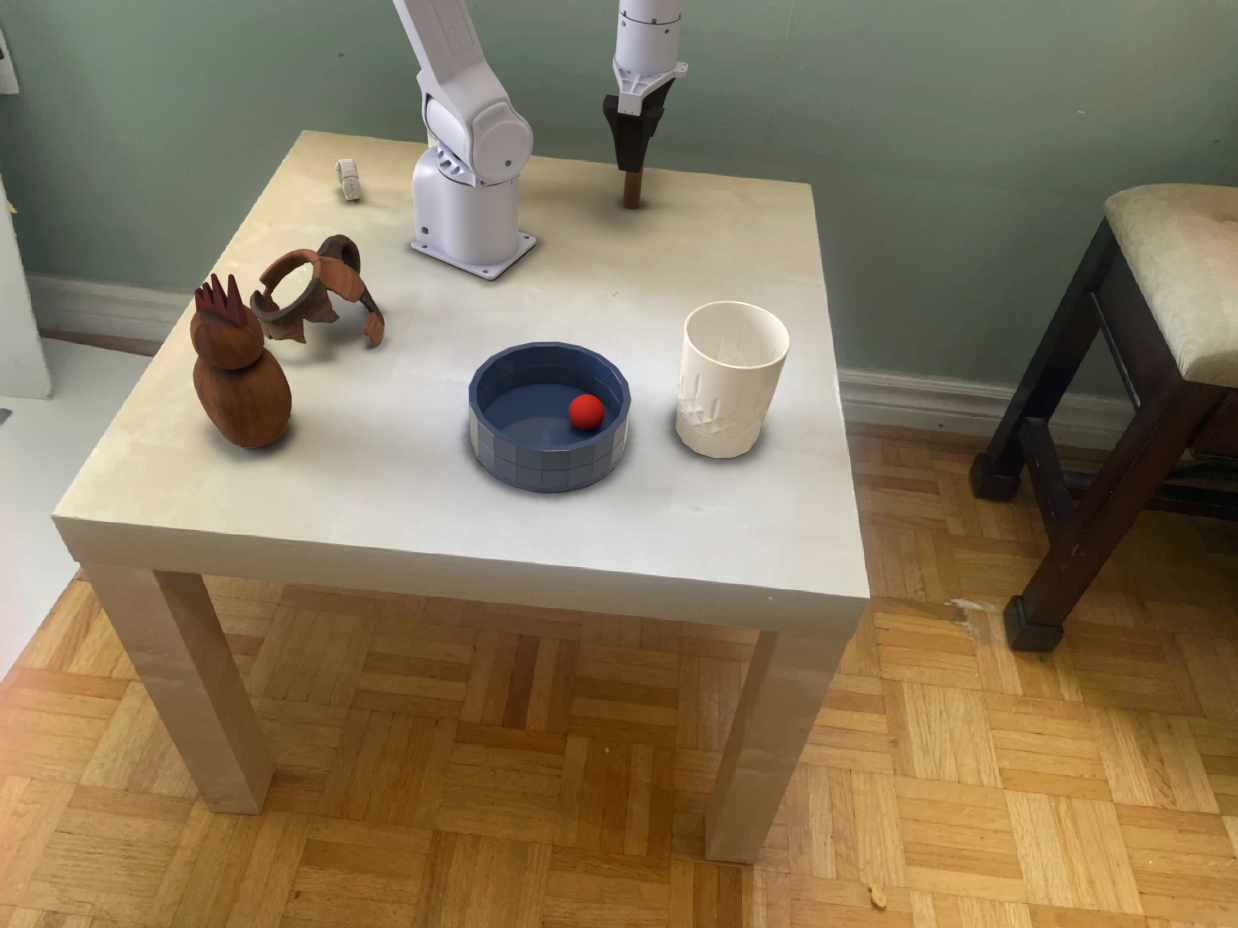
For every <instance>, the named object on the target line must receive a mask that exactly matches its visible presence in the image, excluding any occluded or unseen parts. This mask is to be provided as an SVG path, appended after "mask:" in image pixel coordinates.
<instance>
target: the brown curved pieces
mask: <svg viewBox="0 0 1238 928" xmlns="http://www.w3.org/2000/svg"><path fill="white" fill-rule="evenodd" d="M309 263H310V264H311V266H312V275H311V279H310V280H309V282H308V283H307V285H306V288H305V289H304V290H303V292H302V293H301V294H299V296H298V297H297V298H296V299H295V300H294V301H293V302H292V303H290V304H289V305H287V306H285V307H283V308H281V307H280V306H279V305H278V304H277V303H276V302H275V301H274V299H273V296H272V294H273V293H274V291H275V289H276V288H277V287H278V285H279V284H280V283H281V282H282V280H284V279H285V278H286V276H288V275H289V274H291V273H293V272H294V271H295V270H296V269H298V268H300V267H302V266H304V265H305V264H309ZM361 265H362V263H361V254H360V250H359V248H358V245H357V244H356V243H355V241H353V240H352V239H351V238H350V237H349V236H346V235H345V234H341V233H340V234H339V233H338V234H335V235H331V236H328V237H327V238H325V239H324V241H323V242H322V243H321V245H320V247H318V250H317V251H315V250H312V249H309V248H298V249H294V250H291V251H289V252H286V253H285V254H283V255H281V256H280V257H279V258H277V259H276V260H274V261H273V263H271V264H270V265H269V266H268V267H267V268H266V269H265V270H264V271H263V272H262V273H261V275H260V276H259V278H258V279H259V280H258V281H259V282H260V283H261V284H262V285H264V287H265V289H264V290H263V292H262V293H261V291H260V290H258V289H255V290H254V291H253V293H252V294H251V295H250V297H249V308H250V309H251V310H252V311H253V312H254V314H255V315H256V317H257V318H258V320H259V322H260V324H261V327H262V330H263V335H264V337H266V338H267V339H268V340H270V341H271V340H274V341H285V340H286V341H287V340H292V341H295V342H297V343H299V344H303V345H306V344H307V340H306V338H305V333H304V331H305V330H304V329H305V327H304V320H305V321H307V322H308V323H312V324H327V325H330V324H331V325H332V324H333V323H335V322H337V321H339V319H340V317H341V316H340V315H339V314H338V313H337V312H336V310H334V308H333V303H332V301H331V298H330V297H329V293H328V291H329V292H332V293H333V294H335V295H337V296H339V297H340V298H342V300H344V301H346V302H350V303H352V304H353V303H354V304H355V303H357V302H360V303H361V304H362V305H363V308H364V309H365V310H366V311H367V312H368V314H367V317H366V318H367V319H366V322H365V323H364V326H363V327H362V331H361V332H362V334H364V335H365V337H367V338H368V339H369V342H370V343H371V344H372V346H373V347H376V346H378V345H379V343H380V342H381V341H382V337H383V335H384V332H385V317H384V315H383V313H382V312H381V310H380V309H379V306H378V304H377V303H376V302H375V300H374V299H373V296H372V295H371V293H370V291H369V289H368V287H367V286H366V284H365V281H364V280H363V279H362V277H361Z"/></svg>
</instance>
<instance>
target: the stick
mask: <svg viewBox="0 0 1238 928" xmlns="http://www.w3.org/2000/svg"><path fill="white" fill-rule="evenodd" d="M644 167H645V160H644V161H643V164H642V166H641V169H640V171H639V173H632V172H626V171H624V182H623V183H624V184H623V194H622V205H623V207H625V208H628V209H637V208H638V207H639V206H640V203H641V194H642V184H643V177H644V176H643V175H644Z"/></svg>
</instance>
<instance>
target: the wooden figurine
mask: <svg viewBox="0 0 1238 928" xmlns="http://www.w3.org/2000/svg"><path fill="white" fill-rule="evenodd" d="M210 281H211V285H210V283H209V282H208V281H204V282H203V283H202V284H201V287H200V286H199V287H197V288H196V289H194V301H195V310H196V311H195V312H194V314H193V316H192V318H191V320H190V323H189V333H190V334H189V335H190V339H191V343H192V347H193V349H194V351H195V353H196V355H197V357H196V359H195V362H194V366H193V371H192V381H193V387H194V389H195V393H196V395H197V398H198V400H199V402H200V404H201V406H202V408H203V410H204V412H205V413H206V416H207V417H208V418H209V420H210V421H211V422H212V423H213V425H214V426H215V428H216V429H217V430H218V431H219V432H220V434H221V435H222V436H223V438H224V439H225V440H226V441H228V442H230V443H231V444H232V445H235V446H237V447H240V448H243V449H244V448H245V449H257V448H260V447H265V446H268V445H270V444H272V443H274V442H276V441H278V439H279V438H280V437H281V436H282V435H284V433H285V431H286V429H287V428H288V424H289V422H290V418H291V414H292V409H293V395H292V390H291V387H290V384H289V382H288V379H287V376H286V374H285V372H284V370H283V368H282V366H281V363H280V362H279V361H278V359H277V358H276V356H275V355H274V354H273V353H272V352H271V351H270V350H269V349H268V348H266V347H265V335H264V334H263V330H262V327H261V324H260V322H259V319H258V318H257V317H256V315H255V314H254V312H253V311H252V310H251V309H250V306H247V305H246V304H244V302H243V299H242V297H241V293H240V290H239V287H238V284H237V280H236V277H235V275H234V274H233V273H229V274H228V276H227V291H226V292H225V290H224V288H223V286H222V284H221V282H220V279H219V278H218V276H217V274H216V273H215V272H212V273H211V274H210Z"/></svg>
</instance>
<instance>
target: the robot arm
mask: <svg viewBox="0 0 1238 928" xmlns="http://www.w3.org/2000/svg"><path fill="white" fill-rule="evenodd" d="M684 1H685V0H619V5H618V19H617V31H616V32H617V33H616V45H615V54H614V55H613V58H612V69H613V72H614V75H615V79H616V82H617V85H618V87H619V93H618V94H619V95H614V94H606V95H605V97H604V98H603V101H602V113H603V115H604V117H605V119H606V121H607V123H608V126H609V128H610V131H611V134H612V139H613V144H614V151H615V158H616V165H617V169H618V171H622V172H632V173H639V171H640V169H641V166H642V164H643V161H644V162H645V158H646V154H647V150H648V145H649V142H650V139H651V138H653V137H654V135H655V134H656V131H657V128H658V125H659V123H660V121H661V119H662V118H663V115H664V113H665V110H666V109H665V107H664V105H665V101H666V98H667V96H668V93H669V91H670V89H671V87H672V85H673V84H674V83H675V81H676V79H685V78H686V77H687V76H688V75H687V74H688V72H689V64H688V63H687V62H682V61H680V60H679V61H678V60H677V59H678V58H677V57H678V50H679V41H680V32H681V26H682V25H681V24H682V17H683V10H684V9H683V8H684V3H685V2H684ZM392 3H393V5H394V8H395V10H396V12H397V14H398V16H399V17H398V18H399V19H400V21H401V24H402V26H403V28H404V31H405V33H406V35H407V38H408V40H409V43H410V45H411V47H412V49H413V52H414V54H415V57H416V59H417V60H418V61H417V62H418V64H419V66H420V68H421V69H420V70H419V72H418V73H417V75H416V80H417V83H418V86H419V88H420V91H421V97H422V98H421V99H422V102H421V116H422V120H423V123H424V126H425V127H426V130H427V129H428V130H429V131H430V132H431V133H432V134H433V135H434V136H435V137H437V146H433V147H431V148H429V147H428V149H426V150H425V151H424V152H423V153H422V154H421V156H420V157H419V159H418V160H417V162H416V164H415V167H414V170H413V172H412V173H413V174H412V178H411V195H412V204H413V206H412V207H413V216H414V226H415V227H414V228H415V237H416V238H415V239H413V241H411V245H410V246H411V248H412V249H414V250H416V251H419V252H421V253H423V254H425V255H427V256H430V257H433V258H435V259H438V260H440V261H442V262H445V263H447V264H450V265H452V266H455V267H457V268H459V269H461V270H464V271H467V272H469V273H471V274H474V275H476V276H479V277H481V278H484V279H486V280H489V281H492V280H495V279H496V278H497V277H498V276H499V275H501V274H502V273H503V272H504V271H506V269H508V268H509V267H510V266H511V265H513V263H515V262H516V261H518V259H519V258H521V257H522V256H523V255H524V254H526V253H527V252H528V251H529V250H530V249H531V248H532V247H534V246H535V245H536V243H537V239H536V237H535V236H532V235H530V234H527V233H525V232H522V231H520V230H519V178H520V174H521V172H522V170H523V169H524V168H525V167H526V166H527V163H528V162H529V160H530V158H531V156H532V153H533V150H534V149H533V148H534V133H533V131H532V127H531V125H530V124H529V122H528V121H527V119H525V117H523V116H522V115H520V114H519V113H518V112H517V111H516V109H515V108H514V106H513V105H512V102H511V99H510V96H509V94H508V92H507V91H506V89H505V87H504V85H502V83H501V81H500V80H499V79H498V77H497V76H496V74H495V72H494V71H493V70H492V68H491V66H490V65H489V63H488V62H487V60H486V58H485V54H484V52H483V49H482V46H481V43H480V40H479V37H478V35H477V32H476V28H475V26H474V24H473V20H472V18H471V15H470V12H469V10H468V7H467V4H466V1H465V0H392ZM438 138H439V139H438Z"/></svg>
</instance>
